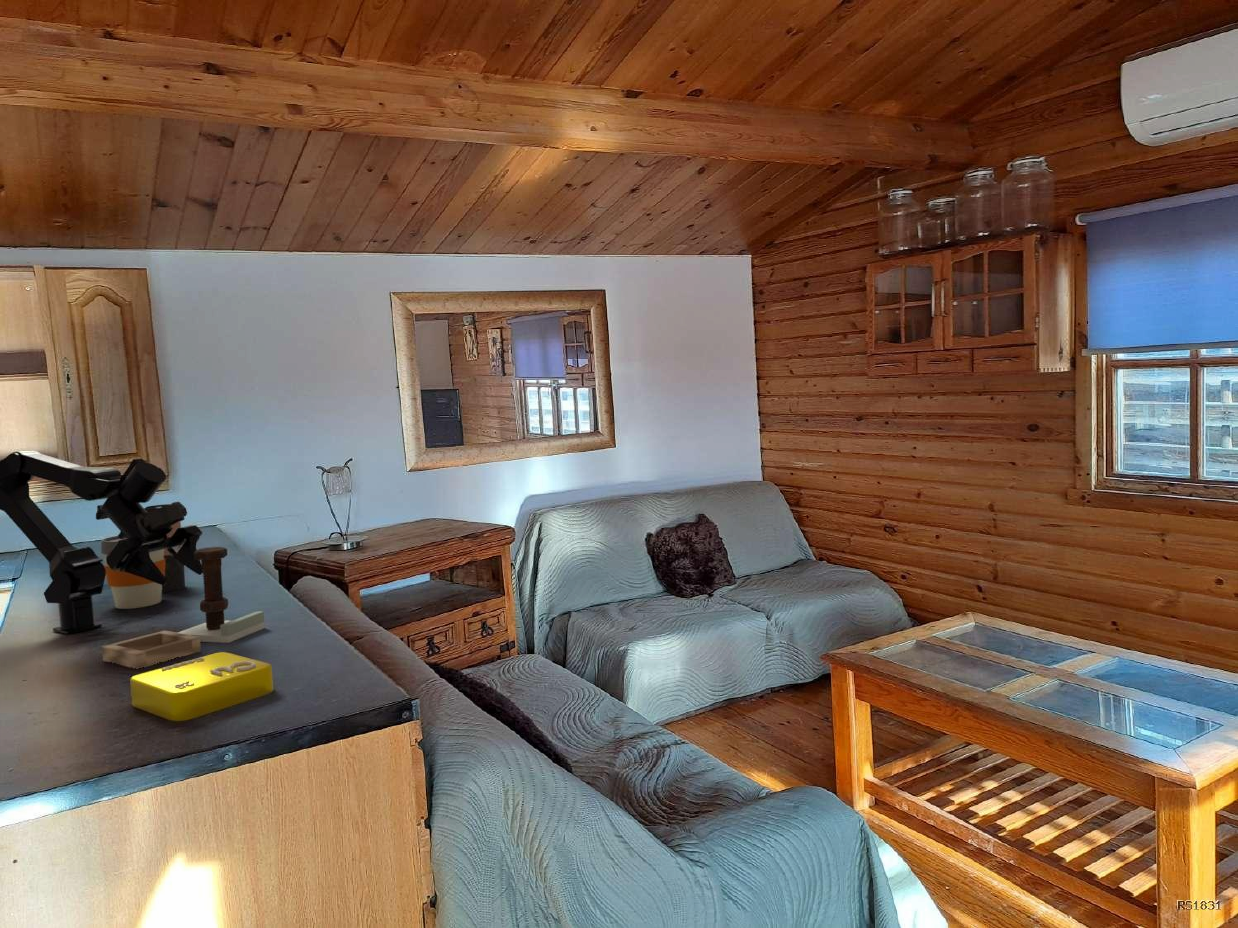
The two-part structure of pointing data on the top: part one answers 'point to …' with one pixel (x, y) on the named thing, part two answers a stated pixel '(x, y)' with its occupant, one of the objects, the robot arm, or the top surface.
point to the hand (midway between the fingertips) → (184, 578)
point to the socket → (151, 649)
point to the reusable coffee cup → (132, 581)
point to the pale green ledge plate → (229, 629)
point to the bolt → (212, 585)
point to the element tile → (201, 686)
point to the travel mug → (171, 561)
